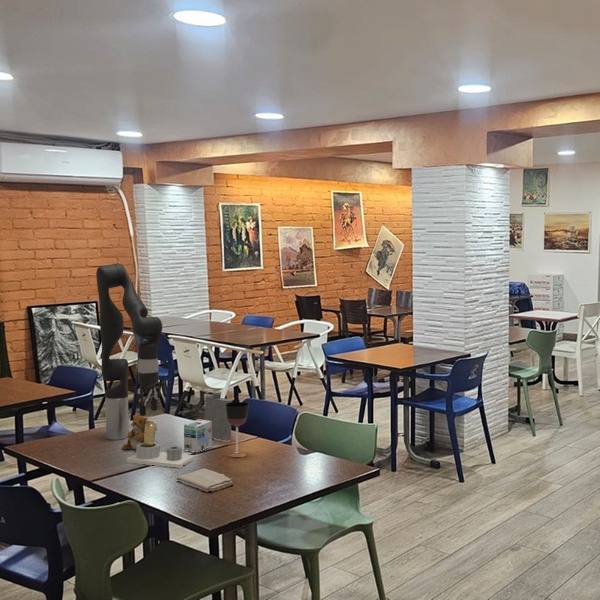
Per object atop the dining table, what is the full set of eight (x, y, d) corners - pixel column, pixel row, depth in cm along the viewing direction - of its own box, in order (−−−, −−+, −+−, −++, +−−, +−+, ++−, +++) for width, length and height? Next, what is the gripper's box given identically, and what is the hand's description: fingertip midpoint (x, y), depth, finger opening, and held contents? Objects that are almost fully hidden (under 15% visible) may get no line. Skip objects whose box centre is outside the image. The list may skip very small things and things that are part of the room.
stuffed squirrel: (119, 450, 272) (119, 417, 271) (139, 441, 285) (139, 410, 284) (141, 453, 269) (141, 419, 268) (160, 443, 282) (160, 412, 281)
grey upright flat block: (232, 441, 286) (232, 394, 284) (224, 443, 283) (224, 395, 282) (210, 434, 297) (210, 388, 296) (202, 436, 294) (202, 389, 293)
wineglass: (250, 457, 264) (251, 405, 263) (228, 459, 261) (228, 407, 260) (244, 451, 272) (244, 401, 270) (223, 453, 268) (223, 403, 267)
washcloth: (208, 495, 223) (208, 486, 223) (174, 482, 235) (174, 474, 235) (235, 486, 232) (236, 477, 232) (201, 474, 244) (201, 466, 244)
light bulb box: (197, 453, 268) (197, 426, 268) (183, 451, 271) (183, 424, 271) (212, 446, 278) (212, 420, 277) (198, 444, 281) (198, 418, 280)
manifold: (126, 462, 256) (126, 448, 256) (143, 453, 267) (143, 439, 267) (180, 468, 249) (180, 453, 249) (194, 459, 261) (194, 445, 260)
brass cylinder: (146, 452, 262) (148, 421, 262) (155, 454, 261) (158, 423, 260) (140, 455, 259) (143, 424, 258) (149, 457, 257) (152, 426, 256)
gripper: (148, 366, 266) (149, 408, 267) (129, 372, 252) (129, 416, 253) (166, 367, 263) (166, 409, 265) (147, 374, 250) (147, 418, 251)
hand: (148, 412), depth 259 cm, fingers open, 8 cm apart
